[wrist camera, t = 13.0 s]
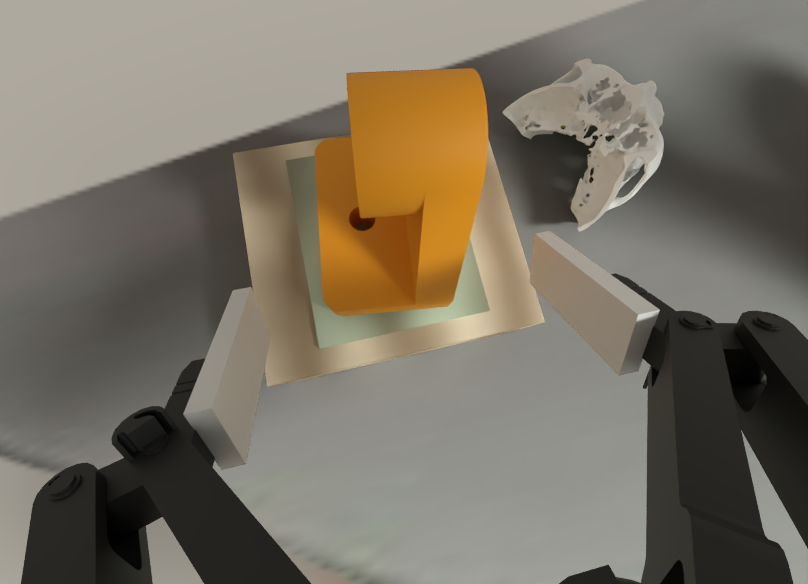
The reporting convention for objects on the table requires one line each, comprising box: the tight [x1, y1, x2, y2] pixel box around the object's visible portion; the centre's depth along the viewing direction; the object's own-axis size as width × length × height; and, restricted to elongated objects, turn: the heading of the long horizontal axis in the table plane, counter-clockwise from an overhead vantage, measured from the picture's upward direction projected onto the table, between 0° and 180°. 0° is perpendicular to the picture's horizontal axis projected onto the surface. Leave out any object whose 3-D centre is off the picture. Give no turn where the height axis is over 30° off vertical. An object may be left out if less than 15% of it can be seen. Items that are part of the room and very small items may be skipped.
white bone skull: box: [502, 59, 664, 232], centre depth 30 cm, size 12×9×10 cm
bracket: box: [315, 68, 488, 316], centre depth 18 cm, size 11×7×12 cm, turn 6°
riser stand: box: [233, 134, 545, 386], centre depth 27 cm, size 18×16×6 cm
